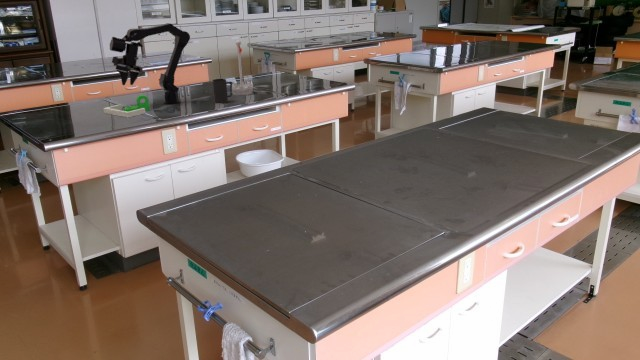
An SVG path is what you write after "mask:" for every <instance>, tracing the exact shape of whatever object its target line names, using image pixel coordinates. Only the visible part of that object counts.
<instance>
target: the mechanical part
mask: <svg viewBox="0 0 640 360" xmlns="http://www.w3.org/2000/svg"><path fill="white" fill-rule="evenodd" d="M141 100H144V102H143V103H142V102H141ZM136 104H137V105H133V106H132V105H131V106H126V107H123V111H127V112H129V111H133V110H137V109H141V108H145V112H146V111H150V110H151V108H150V103H149V98H148V97H147V96H146V95H144V94H141V95H138V96H137V98H136Z"/></svg>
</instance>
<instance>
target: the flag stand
mask: <svg viewBox="0 0 640 360" xmlns="http://www.w3.org/2000/svg"><path fill="white" fill-rule="evenodd" d="M235 45H236V47H237V57H238V58H237V59H238V72H239V84H237V82H232V95H233V96H249V95H252V93H253V89H254V83H252V82H250V81H249V82H246V83H245V82H244V80H243V79H244V77H243V68H242V52H243V49H242V47H241V45H242V41H241V40H239V39H237V40H236V41H235Z"/></svg>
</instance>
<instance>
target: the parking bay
mask: <svg viewBox="0 0 640 360" xmlns="http://www.w3.org/2000/svg"><path fill="white" fill-rule="evenodd" d="M103 113H104V114H107V115H112V116H119V117H123V118H132V117H136V116H140V115H143V114H146V111H145V108H141V109H137V110H133V111H129V112H127V111H124V107H123V104H122V103H121V104H116V105H111V106H107V107H103Z"/></svg>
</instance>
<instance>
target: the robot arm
mask: <svg viewBox="0 0 640 360" xmlns="http://www.w3.org/2000/svg"><path fill="white" fill-rule="evenodd" d="M163 33H169V34H171V35H172V36H173V37H174V48H173V50H172V53H171V56H170V58H169V62H168V64H167V67H166V70H165V72H164V73H162V72H161V73H160V76H159V79H158V82H159V83H158V84H159V87H160V88H162V89H163V91H164V102H163V103H164V104H167V105H174V104H178V103H179V104H180V103H181V102H182V101H181V100H179V94H178V92H179V87H178V86H176V85H175V74H176V71H177V67H178V66H179V62H180V60H181V56H182V53H183V50H184V48H186V46H187V45H188V43H189V41H190V39H191V36H190V33H189V32H187V31H185V30H181V29H180V28H178V27H177V26H175V25H173V23H170V22H169V23H167V22H166V23H164V24H159V25H155V26H150V27H145V28H129V29H128V30H127V31H126V34H125V35H124V36H123V37H122V38H118V37H115V36H112V37H111V40H110V42H109V50H110V51H111V52H118V53H125V54H124V55H122V57H121V58H120V57H118V56H113V57H112V59H111V63H112V64H113V66H115V70H116V71H117V72H118V74H119V75H120V79H121V85H122V86H125V85H126V83H127V81H128V79H129V78H130V79H129V83H130V84H129V85H131V86H133V85H134V83H136V80H137V79H138V78H139V76H140V75H141V74H142V73H143V71H144V68H143V67H142V66H141V65H140V66H139V65H137V60H138V61H139V57H138V53H139V47H140V48H143V47H144V45H142V43H141V42H140V41H141V40H143V39H145V38H148V37H151V36H154V35H159V34H163Z"/></svg>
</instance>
